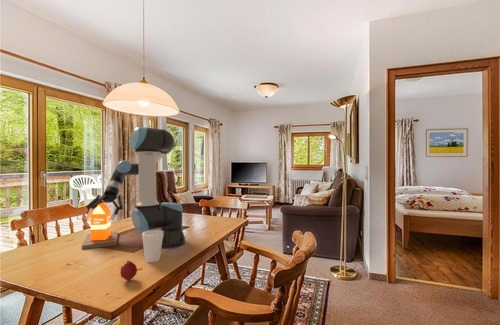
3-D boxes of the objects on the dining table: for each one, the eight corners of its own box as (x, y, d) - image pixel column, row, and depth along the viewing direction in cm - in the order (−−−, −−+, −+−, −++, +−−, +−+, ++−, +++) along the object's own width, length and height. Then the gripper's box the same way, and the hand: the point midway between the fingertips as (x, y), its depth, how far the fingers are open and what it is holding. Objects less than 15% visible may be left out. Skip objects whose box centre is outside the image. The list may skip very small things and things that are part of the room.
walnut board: (116, 245, 138) (116, 241, 138) (81, 249, 131) (81, 245, 131) (117, 234, 157) (117, 231, 157) (87, 237, 150) (87, 234, 150)
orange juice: (110, 235, 149) (111, 201, 149) (105, 239, 141) (106, 204, 140) (96, 235, 148) (96, 201, 147) (90, 240, 139) (90, 204, 139)
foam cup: (155, 264, 113) (155, 236, 113) (137, 262, 115) (137, 234, 115) (166, 257, 122) (167, 230, 122) (150, 255, 124) (150, 229, 124)
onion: (128, 276, 102) (128, 256, 102) (140, 278, 100) (140, 258, 100) (117, 282, 96) (117, 262, 96) (129, 285, 94) (129, 264, 94)
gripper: (134, 193, 160) (124, 222, 145) (94, 193, 158) (79, 222, 143) (131, 186, 155) (120, 215, 140) (89, 185, 153) (73, 215, 138)
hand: (99, 219), depth 142 cm, fingers open, 13 cm apart
